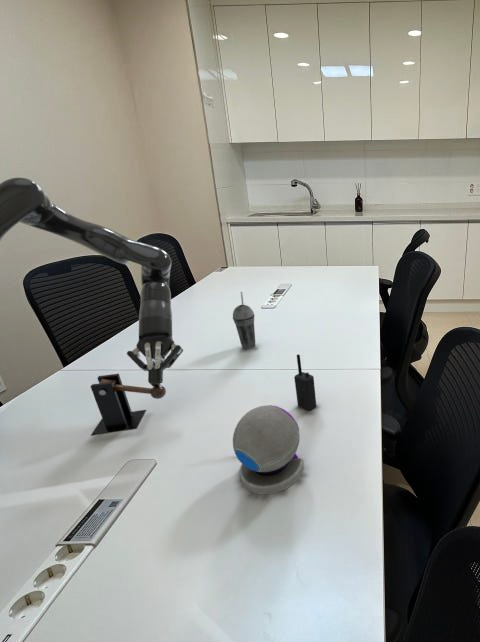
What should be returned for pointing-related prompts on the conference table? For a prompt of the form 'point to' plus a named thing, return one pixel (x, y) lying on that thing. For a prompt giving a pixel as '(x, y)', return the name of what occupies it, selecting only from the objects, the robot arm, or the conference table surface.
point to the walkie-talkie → (305, 389)
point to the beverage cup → (245, 325)
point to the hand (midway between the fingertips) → (155, 385)
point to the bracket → (114, 407)
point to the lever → (139, 389)
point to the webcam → (267, 449)
